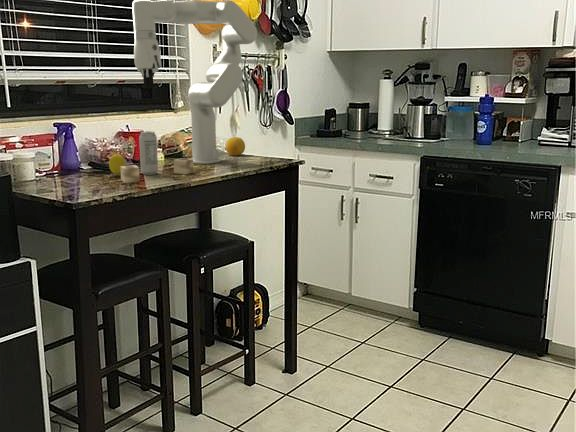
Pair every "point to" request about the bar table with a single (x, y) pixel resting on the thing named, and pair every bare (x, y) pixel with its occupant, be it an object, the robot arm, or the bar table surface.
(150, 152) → the energy drink can
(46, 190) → the bar table surface
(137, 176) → the maple block
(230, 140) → the fruit
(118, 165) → the lemon
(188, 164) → the maple block
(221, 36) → the robot arm
